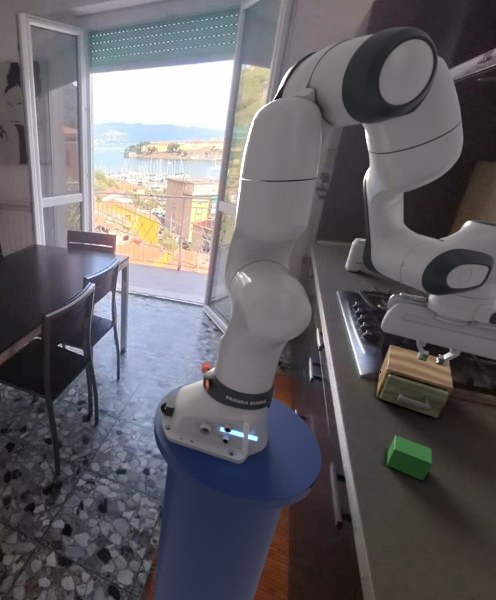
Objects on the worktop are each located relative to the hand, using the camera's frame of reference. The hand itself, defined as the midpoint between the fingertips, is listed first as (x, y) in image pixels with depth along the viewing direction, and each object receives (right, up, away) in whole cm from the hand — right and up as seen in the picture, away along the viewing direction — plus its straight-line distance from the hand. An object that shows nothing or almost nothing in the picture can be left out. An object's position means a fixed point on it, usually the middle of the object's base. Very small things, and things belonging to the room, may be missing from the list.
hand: (430, 361), depth 76 cm
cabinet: (+7, -10, +14) cm, 18 cm away
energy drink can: (+52, +28, +95) cm, 112 cm away
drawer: (+4, -11, +10) cm, 15 cm away
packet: (-11, -19, -6) cm, 23 cm away
